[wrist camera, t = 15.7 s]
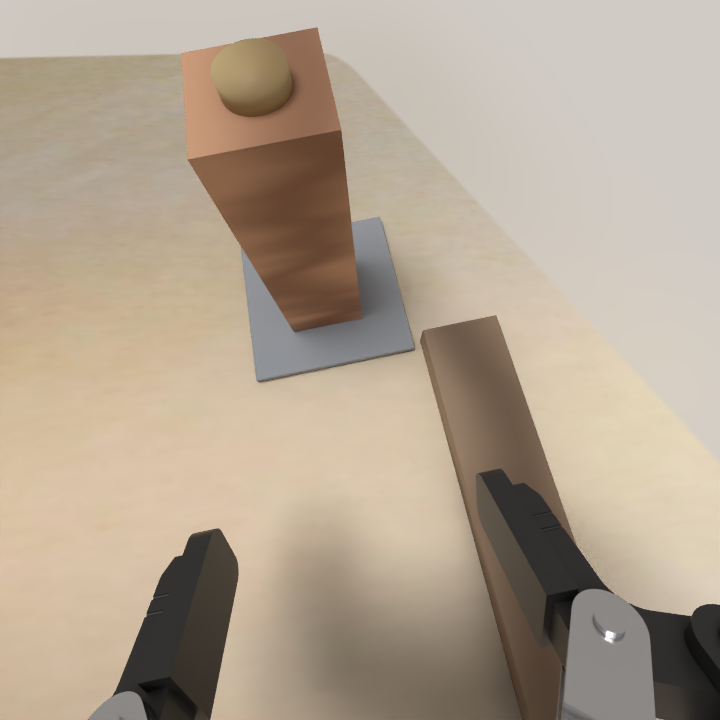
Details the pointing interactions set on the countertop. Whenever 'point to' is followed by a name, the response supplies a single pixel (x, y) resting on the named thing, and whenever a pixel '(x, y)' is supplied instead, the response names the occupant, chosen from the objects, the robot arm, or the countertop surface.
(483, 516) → the robot arm
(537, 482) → the walnut board
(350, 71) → the countertop surface
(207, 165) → the post
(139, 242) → the countertop surface
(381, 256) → the slate mat
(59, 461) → the countertop surface
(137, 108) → the countertop surface
